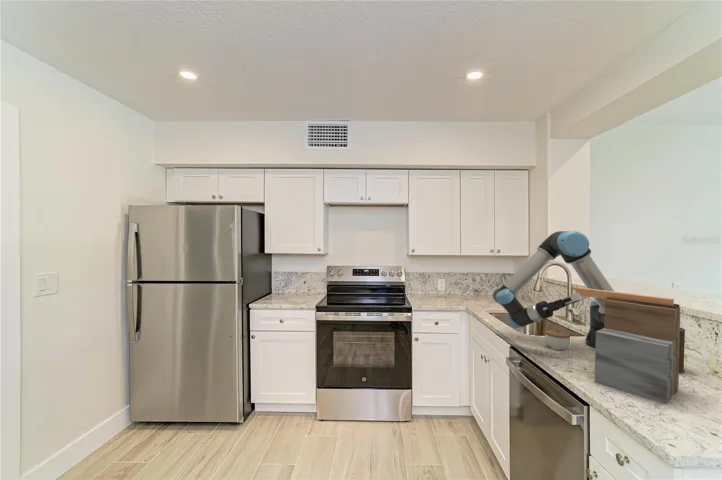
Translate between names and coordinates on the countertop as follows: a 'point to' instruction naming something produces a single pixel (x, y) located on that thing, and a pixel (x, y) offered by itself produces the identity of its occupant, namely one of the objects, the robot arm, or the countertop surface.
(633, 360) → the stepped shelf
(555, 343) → the lidded jar
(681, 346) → the canister
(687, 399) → the countertop surface
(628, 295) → the terracotta bar
